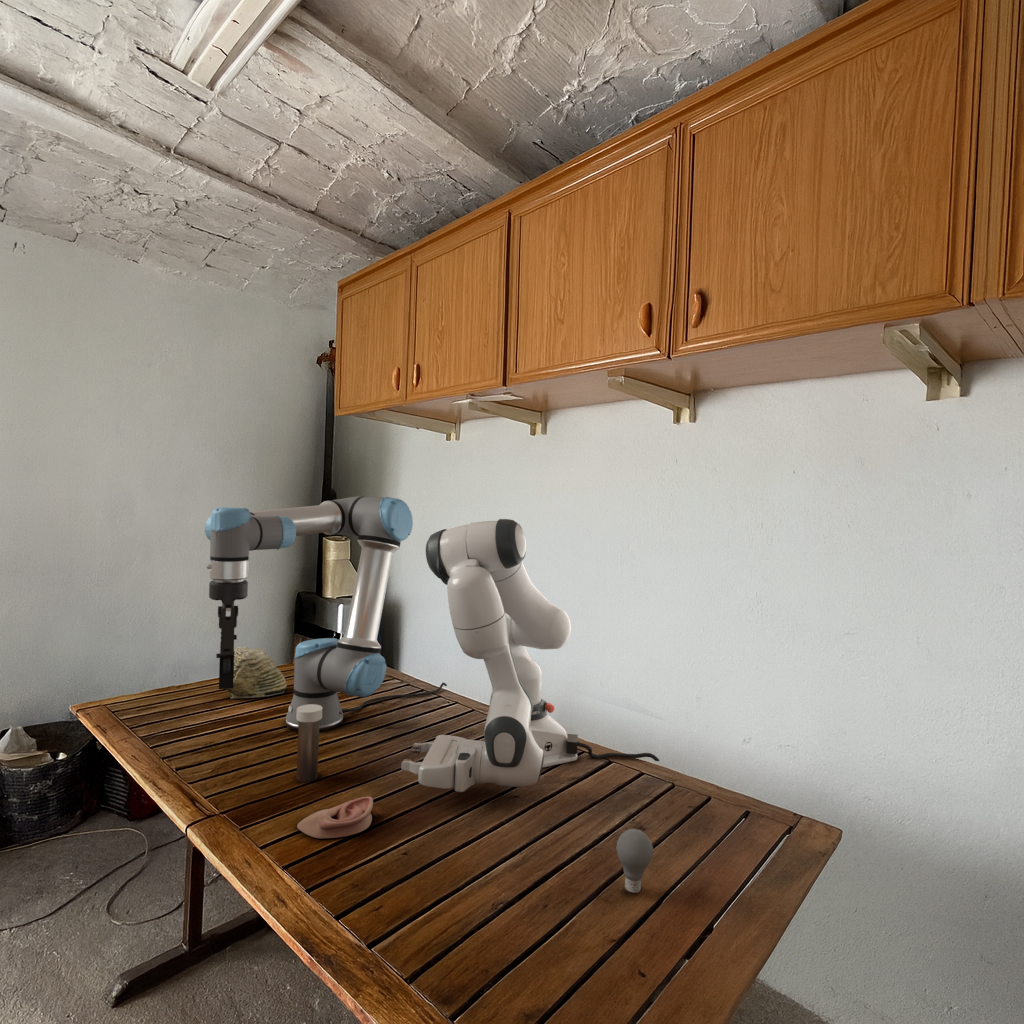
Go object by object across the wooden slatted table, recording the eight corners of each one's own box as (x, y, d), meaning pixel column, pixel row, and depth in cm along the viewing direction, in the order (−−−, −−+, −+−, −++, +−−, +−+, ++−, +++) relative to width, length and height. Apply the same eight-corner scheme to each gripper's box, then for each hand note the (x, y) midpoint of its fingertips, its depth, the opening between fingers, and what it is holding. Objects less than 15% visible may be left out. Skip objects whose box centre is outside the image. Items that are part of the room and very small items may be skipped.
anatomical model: (288, 812, 118) (319, 786, 130) (288, 834, 118) (318, 805, 130) (354, 823, 116) (380, 795, 127) (354, 844, 116) (379, 814, 127)
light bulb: (610, 879, 108) (613, 822, 108) (644, 879, 109) (647, 822, 109) (619, 902, 102) (622, 840, 102) (655, 901, 103) (658, 840, 103)
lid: (322, 721, 140) (323, 711, 140) (296, 723, 139) (296, 713, 139) (321, 713, 146) (321, 703, 146) (296, 714, 144) (296, 705, 144)
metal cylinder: (317, 780, 141) (320, 712, 141) (296, 783, 140) (299, 714, 139) (317, 772, 145) (319, 706, 145) (296, 774, 144) (298, 707, 144)
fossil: (218, 695, 195) (220, 647, 195) (278, 685, 208) (279, 640, 207) (228, 703, 189) (230, 653, 188) (289, 692, 201) (290, 645, 201)
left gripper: (210, 572, 145) (208, 664, 145) (207, 589, 122) (204, 698, 122) (246, 572, 148) (244, 662, 148) (249, 588, 125) (246, 694, 125)
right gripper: (476, 730, 149) (419, 725, 151) (462, 765, 129) (396, 759, 130) (475, 757, 149) (417, 752, 151) (461, 796, 129) (394, 790, 130)
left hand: (226, 679), depth 135 cm, fingers open, 13 cm apart
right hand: (407, 755), depth 140 cm, fingers open, 8 cm apart
